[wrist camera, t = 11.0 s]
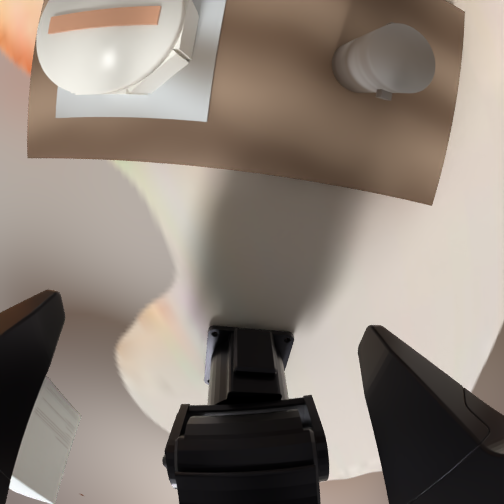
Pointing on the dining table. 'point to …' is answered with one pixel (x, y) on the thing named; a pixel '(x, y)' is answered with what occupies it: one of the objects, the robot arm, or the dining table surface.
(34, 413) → the supplement box
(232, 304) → the dining table surface
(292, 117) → the post board
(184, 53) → the cap
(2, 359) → the robot arm
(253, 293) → the dining table surface
